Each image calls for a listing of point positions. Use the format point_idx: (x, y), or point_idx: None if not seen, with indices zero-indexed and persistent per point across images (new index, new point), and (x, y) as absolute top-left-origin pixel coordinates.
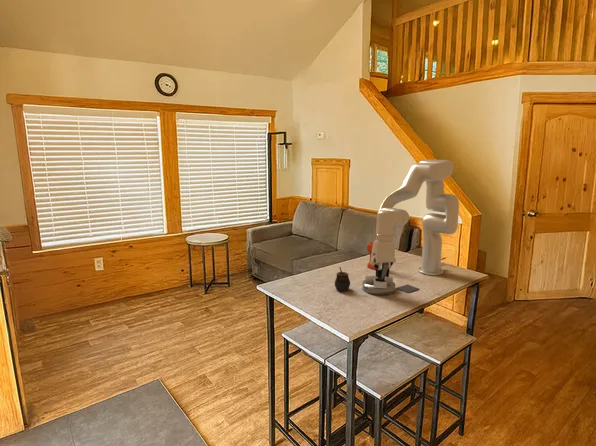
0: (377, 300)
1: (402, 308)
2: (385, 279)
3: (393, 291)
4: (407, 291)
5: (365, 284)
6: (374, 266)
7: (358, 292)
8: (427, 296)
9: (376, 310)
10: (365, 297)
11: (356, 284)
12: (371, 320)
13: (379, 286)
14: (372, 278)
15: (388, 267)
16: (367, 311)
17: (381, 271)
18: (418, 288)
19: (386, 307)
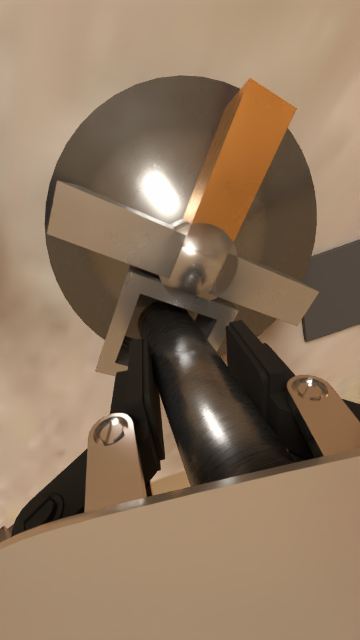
0: (105, 384)
1: (177, 458)
2: (216, 344)
3: None
4: (315, 329)
5: (64, 244)
6: (61, 490)
7: (17, 256)
8: (352, 385)
9: (63, 461)
10: (48, 340)
11: (35, 51)
12: (19, 513)
13: None
14: (125, 258)
15: None
16: (20, 465)
17: (172, 431)
18: None
19: None
